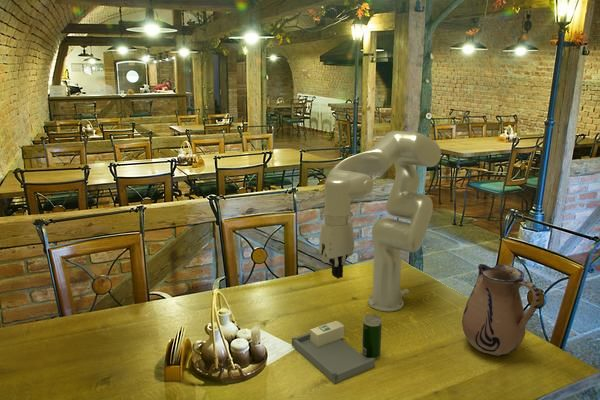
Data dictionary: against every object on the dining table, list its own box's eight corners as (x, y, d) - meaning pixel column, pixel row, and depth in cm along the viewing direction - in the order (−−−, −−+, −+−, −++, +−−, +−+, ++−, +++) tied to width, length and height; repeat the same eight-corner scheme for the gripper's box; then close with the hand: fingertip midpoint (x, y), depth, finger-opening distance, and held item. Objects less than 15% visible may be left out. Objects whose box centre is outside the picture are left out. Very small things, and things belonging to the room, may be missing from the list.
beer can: (370, 362, 140) (371, 325, 137) (358, 353, 144) (359, 317, 141) (384, 356, 143) (386, 319, 139) (371, 348, 147) (373, 312, 144)
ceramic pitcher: (476, 326, 159) (483, 254, 153) (543, 351, 145) (555, 274, 138) (449, 347, 147) (456, 270, 141) (519, 377, 133) (530, 293, 126)
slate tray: (329, 332, 156) (329, 325, 155) (374, 366, 138) (374, 359, 137) (291, 345, 148) (291, 338, 148) (334, 383, 130) (334, 375, 130)
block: (336, 319, 153) (310, 328, 148) (344, 325, 150) (317, 334, 145) (336, 331, 154) (310, 341, 149) (344, 337, 151) (317, 347, 146)
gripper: (349, 211, 149) (349, 266, 154) (309, 220, 141) (309, 278, 146) (365, 217, 143) (364, 274, 148) (324, 227, 135) (324, 287, 140)
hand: (337, 276), depth 147 cm, fingers closed
